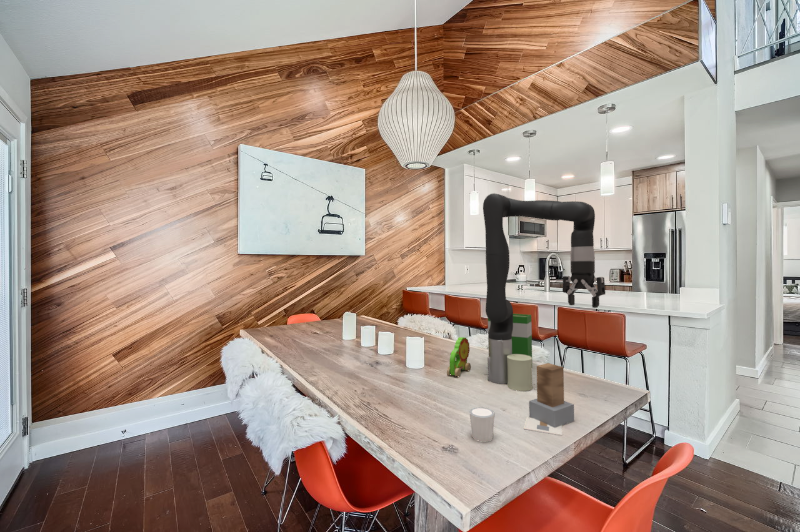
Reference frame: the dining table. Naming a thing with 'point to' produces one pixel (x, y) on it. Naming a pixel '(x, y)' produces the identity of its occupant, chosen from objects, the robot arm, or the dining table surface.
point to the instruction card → (541, 427)
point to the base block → (552, 413)
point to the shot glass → (482, 423)
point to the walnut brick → (550, 384)
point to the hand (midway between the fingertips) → (583, 306)
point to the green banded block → (520, 334)
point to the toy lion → (459, 357)
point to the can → (519, 372)
